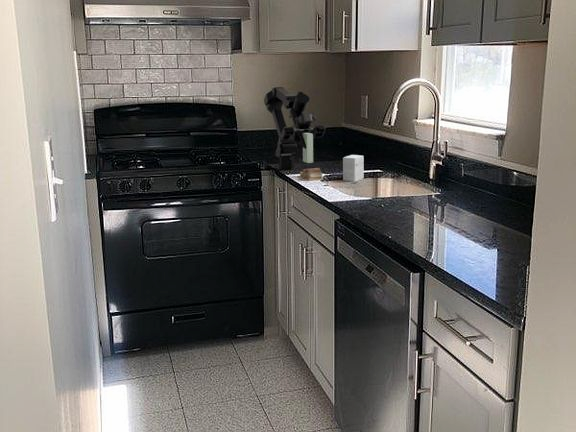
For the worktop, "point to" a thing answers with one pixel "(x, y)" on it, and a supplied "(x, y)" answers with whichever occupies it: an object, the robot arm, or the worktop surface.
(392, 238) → the worktop surface
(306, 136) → the sage panel
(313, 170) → the pine rack
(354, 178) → the small box
